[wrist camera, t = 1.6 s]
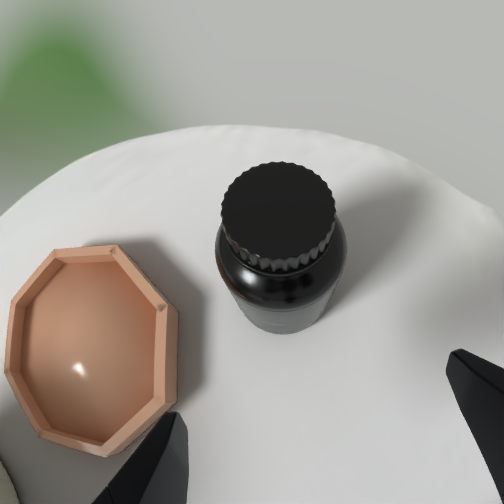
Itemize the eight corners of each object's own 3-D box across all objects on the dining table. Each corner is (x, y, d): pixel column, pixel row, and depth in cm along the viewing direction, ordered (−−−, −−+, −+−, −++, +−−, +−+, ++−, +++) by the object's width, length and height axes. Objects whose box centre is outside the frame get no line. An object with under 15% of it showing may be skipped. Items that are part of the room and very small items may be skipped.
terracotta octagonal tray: (223, 357, 22) (215, 355, 20) (89, 479, 19) (72, 485, 16) (103, 223, 28) (90, 210, 26) (3, 337, 24) (-13, 332, 22)
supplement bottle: (346, 285, 23) (393, 202, 12) (286, 354, 22) (286, 330, 11) (279, 231, 26) (271, 122, 15) (218, 292, 24) (163, 216, 13)
